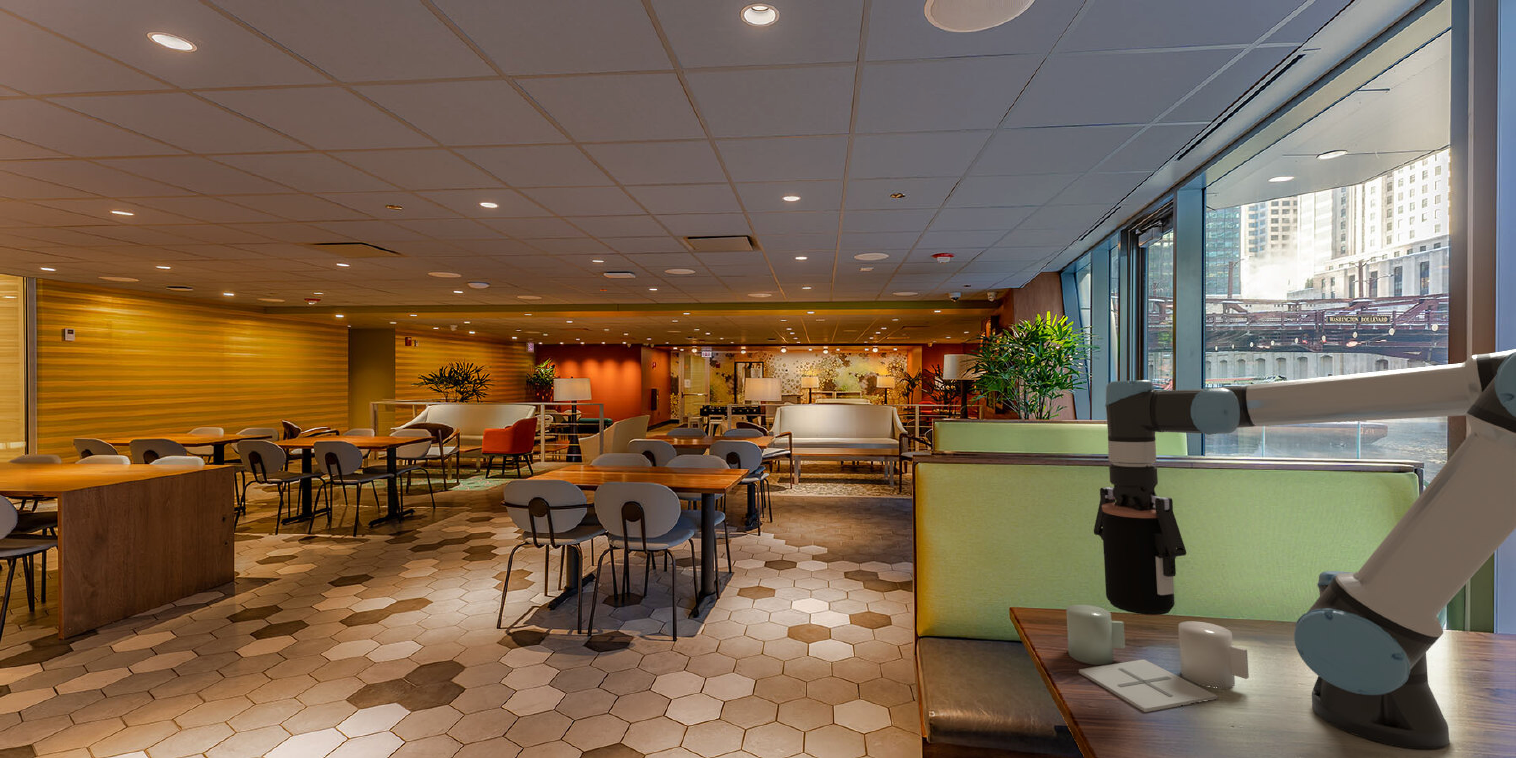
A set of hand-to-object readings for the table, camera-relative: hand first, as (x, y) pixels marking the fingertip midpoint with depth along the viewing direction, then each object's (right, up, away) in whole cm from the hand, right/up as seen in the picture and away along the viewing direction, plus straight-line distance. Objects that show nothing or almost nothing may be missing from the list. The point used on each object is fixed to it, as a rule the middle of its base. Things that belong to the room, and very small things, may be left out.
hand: (1138, 584), depth 110 cm
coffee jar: (0, -4, 0) cm, 4 cm away
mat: (+1, -18, -1) cm, 18 cm away
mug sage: (-1, -19, +12) cm, 22 cm away
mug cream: (+14, -18, 0) cm, 23 cm away
